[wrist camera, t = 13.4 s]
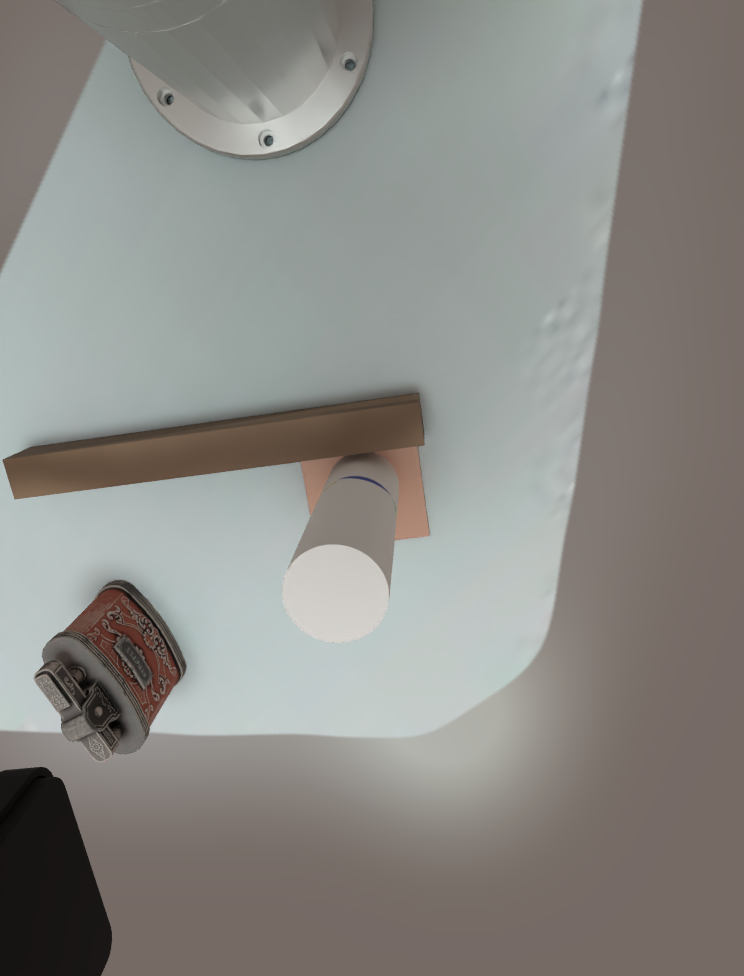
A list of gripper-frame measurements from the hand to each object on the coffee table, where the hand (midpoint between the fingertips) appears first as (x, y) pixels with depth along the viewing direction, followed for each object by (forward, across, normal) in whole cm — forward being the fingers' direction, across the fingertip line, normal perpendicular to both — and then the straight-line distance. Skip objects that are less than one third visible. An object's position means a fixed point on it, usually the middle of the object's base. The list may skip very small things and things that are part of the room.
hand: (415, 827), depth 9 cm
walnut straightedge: (+33, +12, +1) cm, 35 cm away
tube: (+33, +4, +5) cm, 34 cm away
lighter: (+34, +20, +13) cm, 41 cm away
